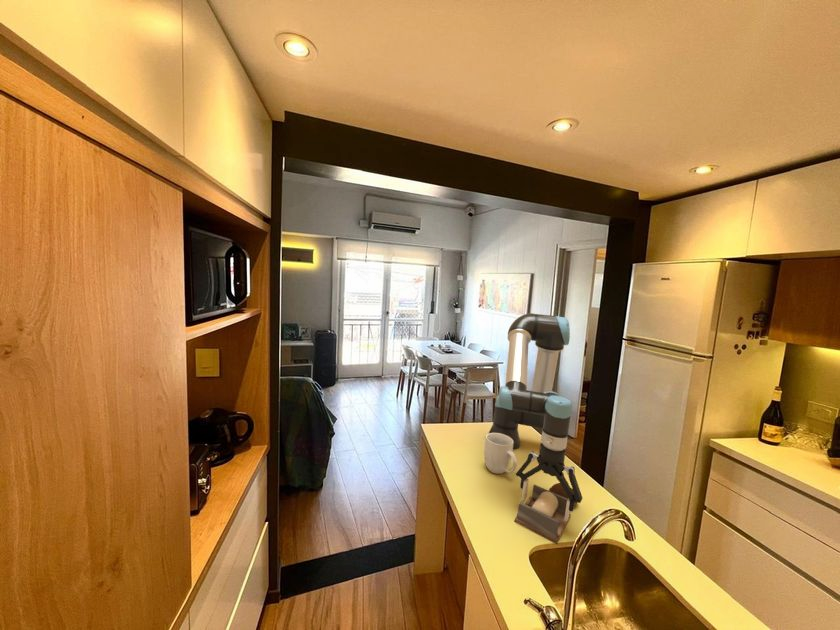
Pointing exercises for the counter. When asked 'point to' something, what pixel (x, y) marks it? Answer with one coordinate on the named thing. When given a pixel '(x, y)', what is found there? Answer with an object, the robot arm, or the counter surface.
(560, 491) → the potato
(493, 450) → the mug
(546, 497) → the roll
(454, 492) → the counter surface
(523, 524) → the cradle
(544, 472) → the robot arm
